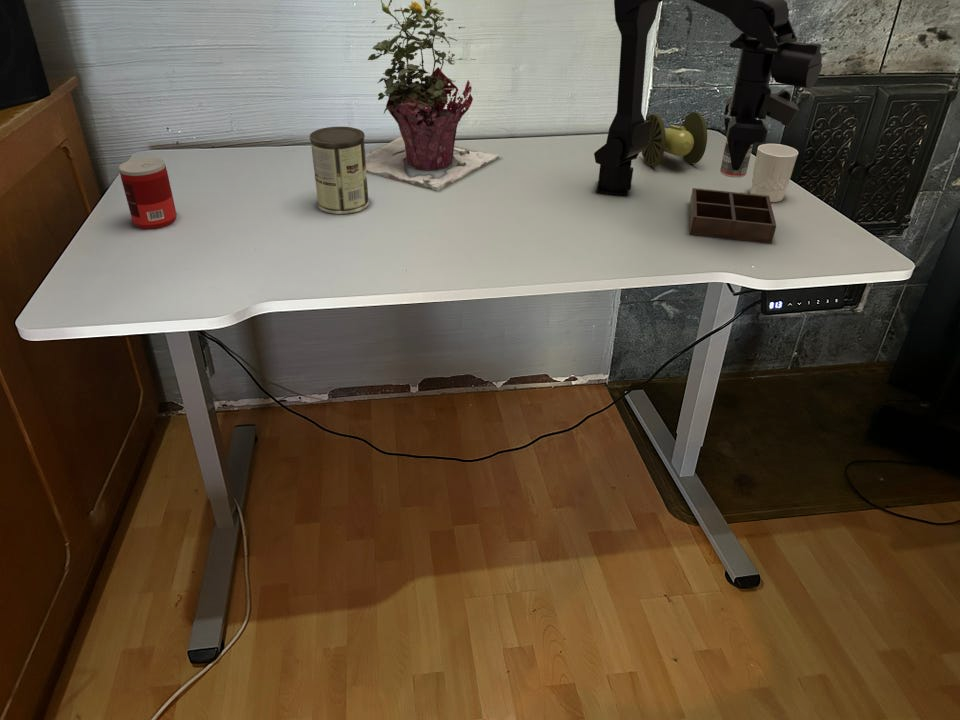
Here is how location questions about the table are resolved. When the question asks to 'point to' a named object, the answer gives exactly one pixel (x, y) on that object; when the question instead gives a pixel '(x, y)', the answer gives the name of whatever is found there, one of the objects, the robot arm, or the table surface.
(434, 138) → the potted flower
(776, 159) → the white cup
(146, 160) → the canned food
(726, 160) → the pill bottle
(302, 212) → the table surface
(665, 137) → the cannon
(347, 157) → the coffee can
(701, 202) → the rack
